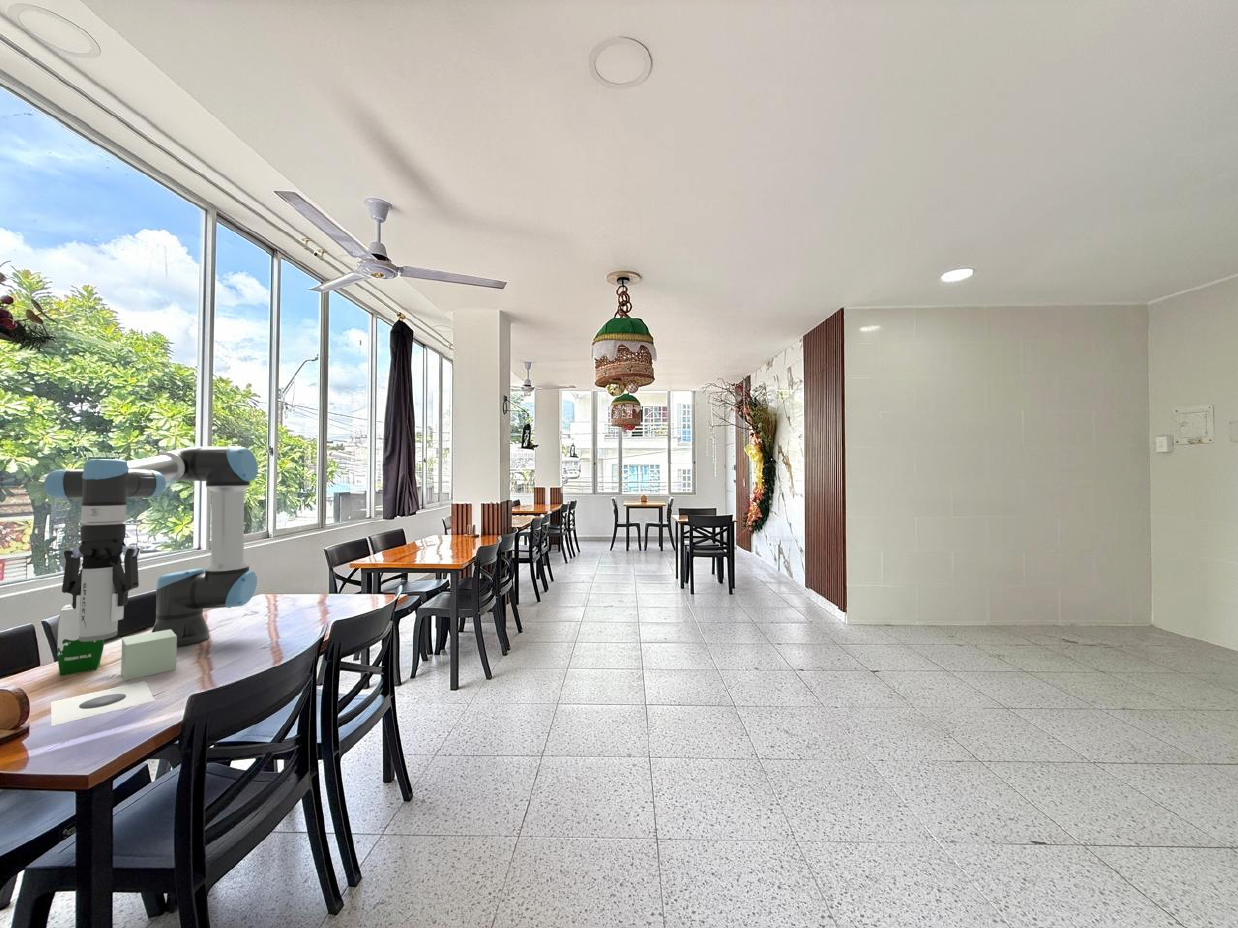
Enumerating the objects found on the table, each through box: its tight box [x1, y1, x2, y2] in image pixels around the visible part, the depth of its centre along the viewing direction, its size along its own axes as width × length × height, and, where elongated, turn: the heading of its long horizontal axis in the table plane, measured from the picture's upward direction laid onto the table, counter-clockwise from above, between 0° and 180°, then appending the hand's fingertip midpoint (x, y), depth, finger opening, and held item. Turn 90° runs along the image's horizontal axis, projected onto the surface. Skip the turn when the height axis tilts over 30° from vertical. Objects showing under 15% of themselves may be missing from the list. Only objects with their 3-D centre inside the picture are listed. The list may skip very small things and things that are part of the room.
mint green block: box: [120, 629, 178, 681], centre depth 136 cm, size 10×10×10 cm
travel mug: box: [79, 555, 121, 642], centre depth 117 cm, size 6×7×20 cm
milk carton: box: [57, 603, 105, 677], centre depth 139 cm, size 9×9×20 cm
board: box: [50, 680, 156, 727], centre depth 116 cm, size 18×16×1 cm
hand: (99, 620), depth 117 cm, fingers closed on travel mug, 6 cm apart
